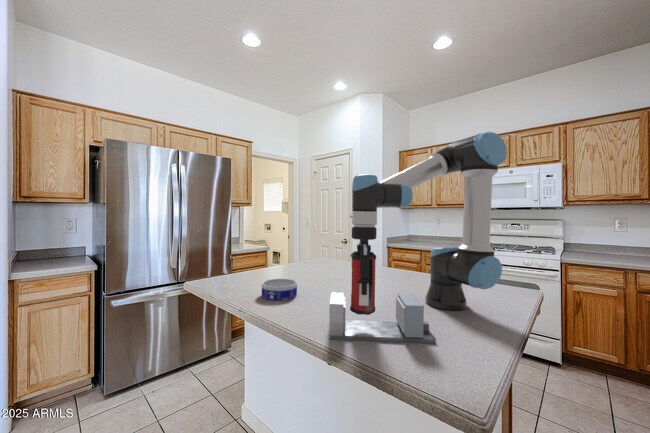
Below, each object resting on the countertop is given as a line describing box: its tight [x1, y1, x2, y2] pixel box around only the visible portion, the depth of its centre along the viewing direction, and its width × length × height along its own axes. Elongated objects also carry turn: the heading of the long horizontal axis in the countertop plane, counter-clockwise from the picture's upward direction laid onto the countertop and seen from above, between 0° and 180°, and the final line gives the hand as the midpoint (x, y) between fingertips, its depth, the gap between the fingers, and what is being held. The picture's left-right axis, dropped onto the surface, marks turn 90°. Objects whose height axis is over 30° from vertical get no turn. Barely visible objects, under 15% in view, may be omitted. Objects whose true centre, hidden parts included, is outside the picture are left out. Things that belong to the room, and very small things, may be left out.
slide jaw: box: [395, 292, 430, 338], centre depth 86 cm, size 9×12×9 cm
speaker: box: [349, 250, 377, 316], centre depth 87 cm, size 8×8×18 cm
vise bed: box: [328, 319, 437, 344], centre depth 87 cm, size 30×12×1 cm, turn 86°
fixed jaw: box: [328, 291, 347, 336], centre depth 88 cm, size 5×12×9 cm, turn 176°
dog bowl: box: [261, 278, 298, 302], centre depth 124 cm, size 15×15×6 cm
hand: (362, 300), depth 87 cm, fingers closed on speaker, 7 cm apart
